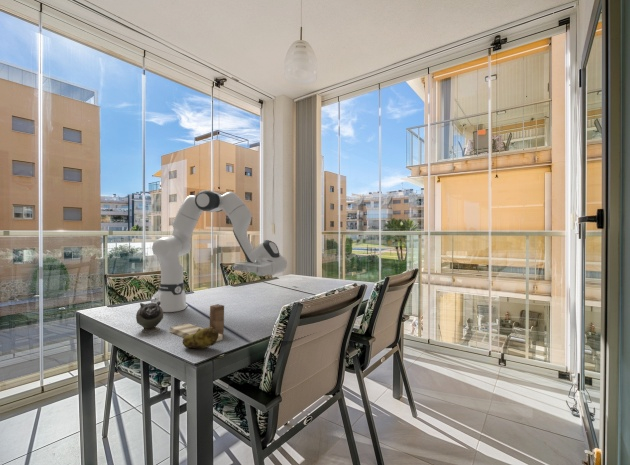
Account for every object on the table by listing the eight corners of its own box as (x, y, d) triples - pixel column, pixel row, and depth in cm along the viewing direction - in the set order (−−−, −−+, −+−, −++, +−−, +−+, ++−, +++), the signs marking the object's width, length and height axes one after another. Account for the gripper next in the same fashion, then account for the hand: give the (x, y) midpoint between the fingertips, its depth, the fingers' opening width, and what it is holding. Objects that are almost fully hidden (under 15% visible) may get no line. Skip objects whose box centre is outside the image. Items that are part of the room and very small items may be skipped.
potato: (198, 342, 124) (198, 321, 123) (221, 349, 117) (222, 327, 117) (179, 348, 116) (180, 327, 116) (203, 356, 110) (204, 333, 110)
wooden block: (194, 339, 127) (195, 309, 127) (217, 332, 136) (218, 304, 136) (200, 341, 125) (201, 310, 125) (223, 334, 134) (224, 305, 133)
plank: (170, 332, 134) (170, 327, 134) (187, 327, 141) (187, 323, 141) (205, 345, 120) (205, 340, 120) (222, 339, 127) (222, 334, 127)
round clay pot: (142, 336, 129) (167, 329, 137) (142, 306, 129) (167, 302, 137) (132, 330, 136) (157, 324, 144) (132, 302, 135) (157, 298, 143)
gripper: (247, 258, 162) (225, 260, 151) (277, 262, 151) (255, 264, 139) (246, 271, 162) (225, 273, 151) (276, 275, 151) (255, 278, 139)
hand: (239, 269), depth 145 cm, fingers open, 8 cm apart
